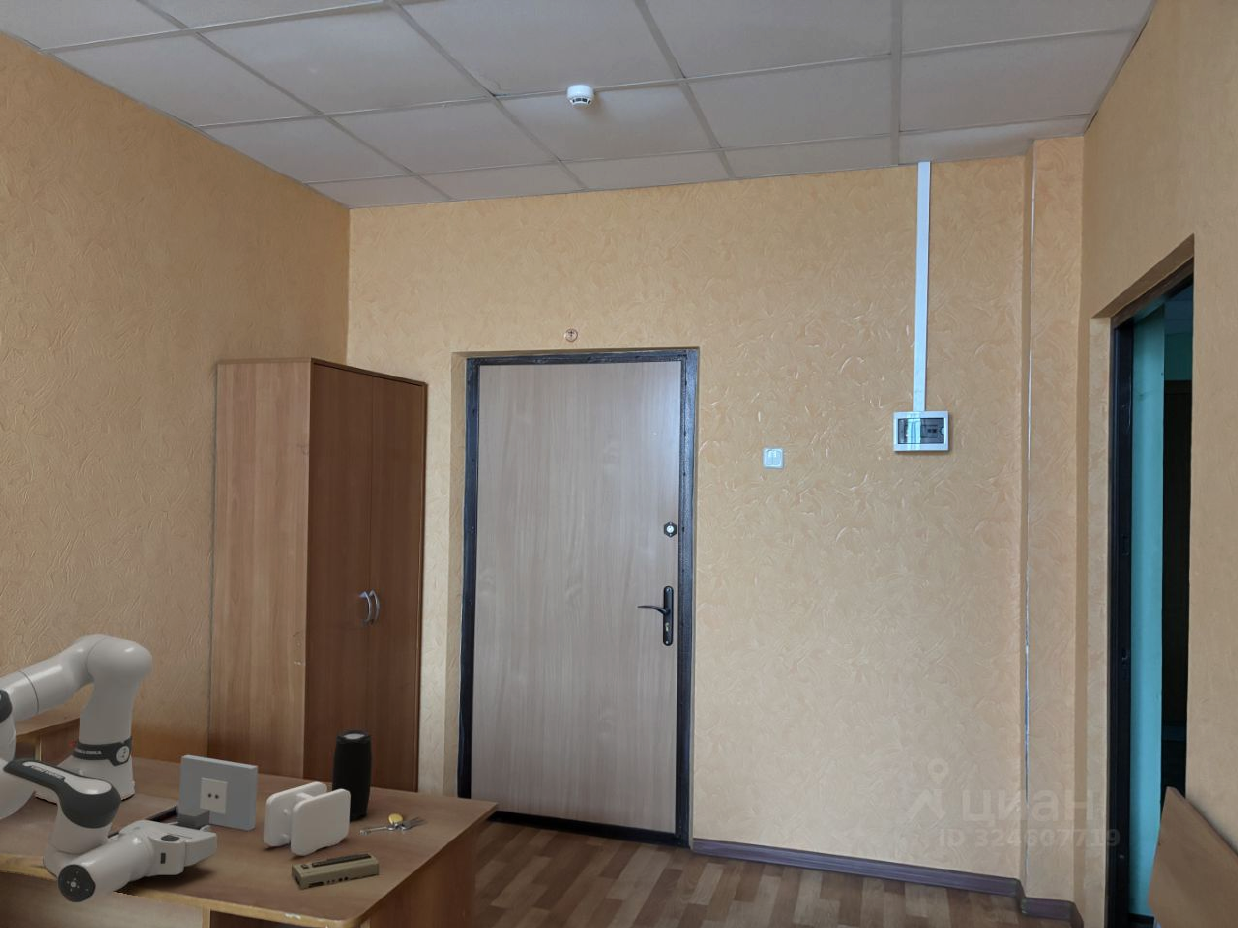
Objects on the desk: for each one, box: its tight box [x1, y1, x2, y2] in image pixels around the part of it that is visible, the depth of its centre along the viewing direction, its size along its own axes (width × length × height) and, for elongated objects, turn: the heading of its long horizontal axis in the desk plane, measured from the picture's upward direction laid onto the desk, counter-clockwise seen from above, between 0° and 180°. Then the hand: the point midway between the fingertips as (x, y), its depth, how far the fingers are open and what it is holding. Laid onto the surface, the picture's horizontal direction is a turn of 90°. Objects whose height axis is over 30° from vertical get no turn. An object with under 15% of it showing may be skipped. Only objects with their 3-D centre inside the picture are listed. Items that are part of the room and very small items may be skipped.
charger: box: [177, 807, 210, 830], centre depth 189 cm, size 4×5×9 cm
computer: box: [291, 852, 380, 890], centre depth 183 cm, size 16×8×3 cm, turn 122°
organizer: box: [263, 781, 351, 857], centre depth 197 cm, size 15×11×12 cm
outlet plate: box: [177, 754, 259, 832], centre depth 206 cm, size 20×2×14 cm, turn 73°
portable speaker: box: [331, 728, 373, 822], centre depth 214 cm, size 9×9×20 cm
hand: (196, 826), depth 189 cm, fingers closed on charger, 4 cm apart
